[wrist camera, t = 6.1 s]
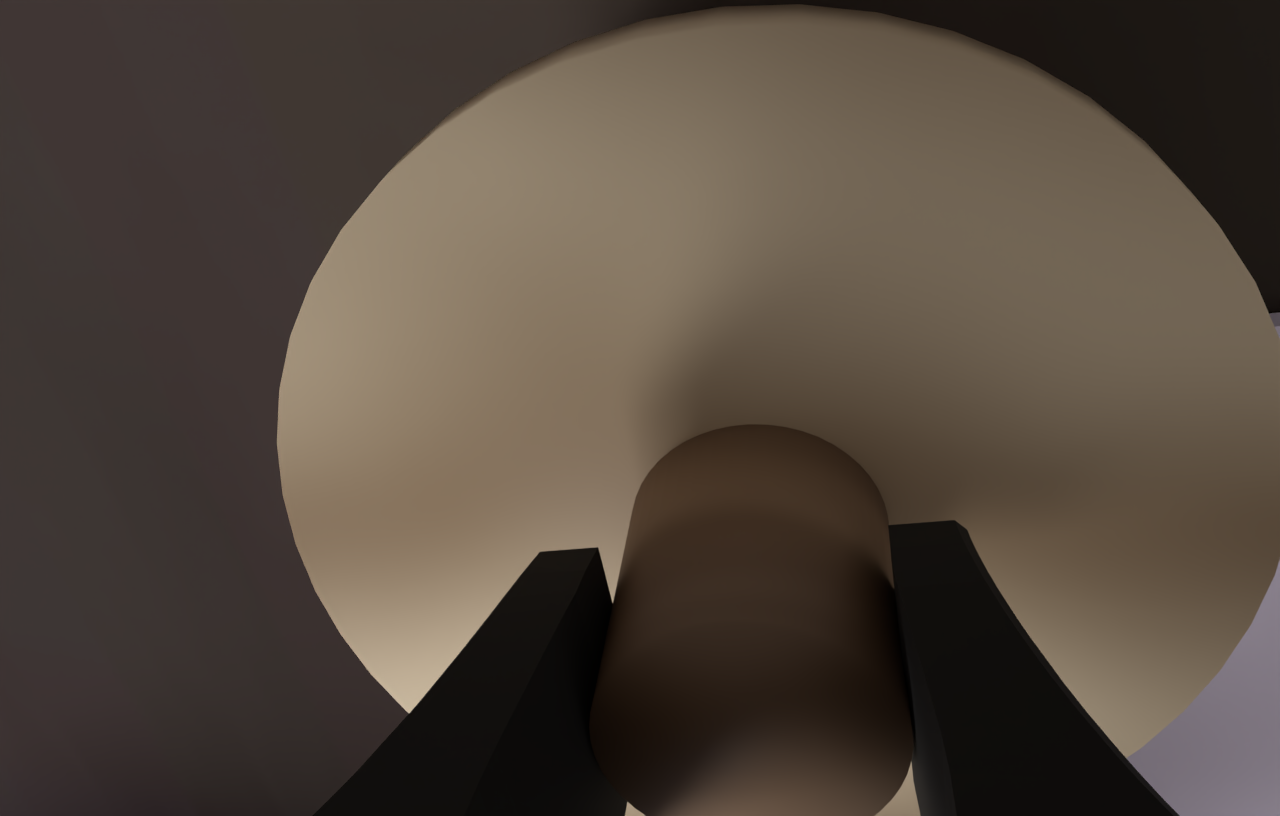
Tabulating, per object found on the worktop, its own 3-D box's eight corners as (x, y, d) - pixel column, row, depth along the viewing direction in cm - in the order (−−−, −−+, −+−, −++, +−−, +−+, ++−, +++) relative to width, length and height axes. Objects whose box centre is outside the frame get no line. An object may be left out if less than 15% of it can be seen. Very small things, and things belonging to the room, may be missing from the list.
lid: (1241, 728, 15) (1396, 1080, 11) (486, 790, 18) (397, 1096, 14) (1248, -143, 10) (1538, -55, 6) (179, 116, 12) (-107, 299, 9)
